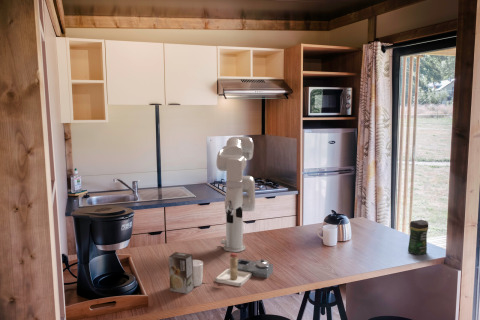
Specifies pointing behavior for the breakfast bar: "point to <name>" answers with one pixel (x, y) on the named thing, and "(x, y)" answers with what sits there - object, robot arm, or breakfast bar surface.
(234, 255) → the lock pin
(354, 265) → the breakfast bar surface
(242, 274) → the tray
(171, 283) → the coffee box
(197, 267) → the white cup
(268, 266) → the block
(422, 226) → the coffee jar
